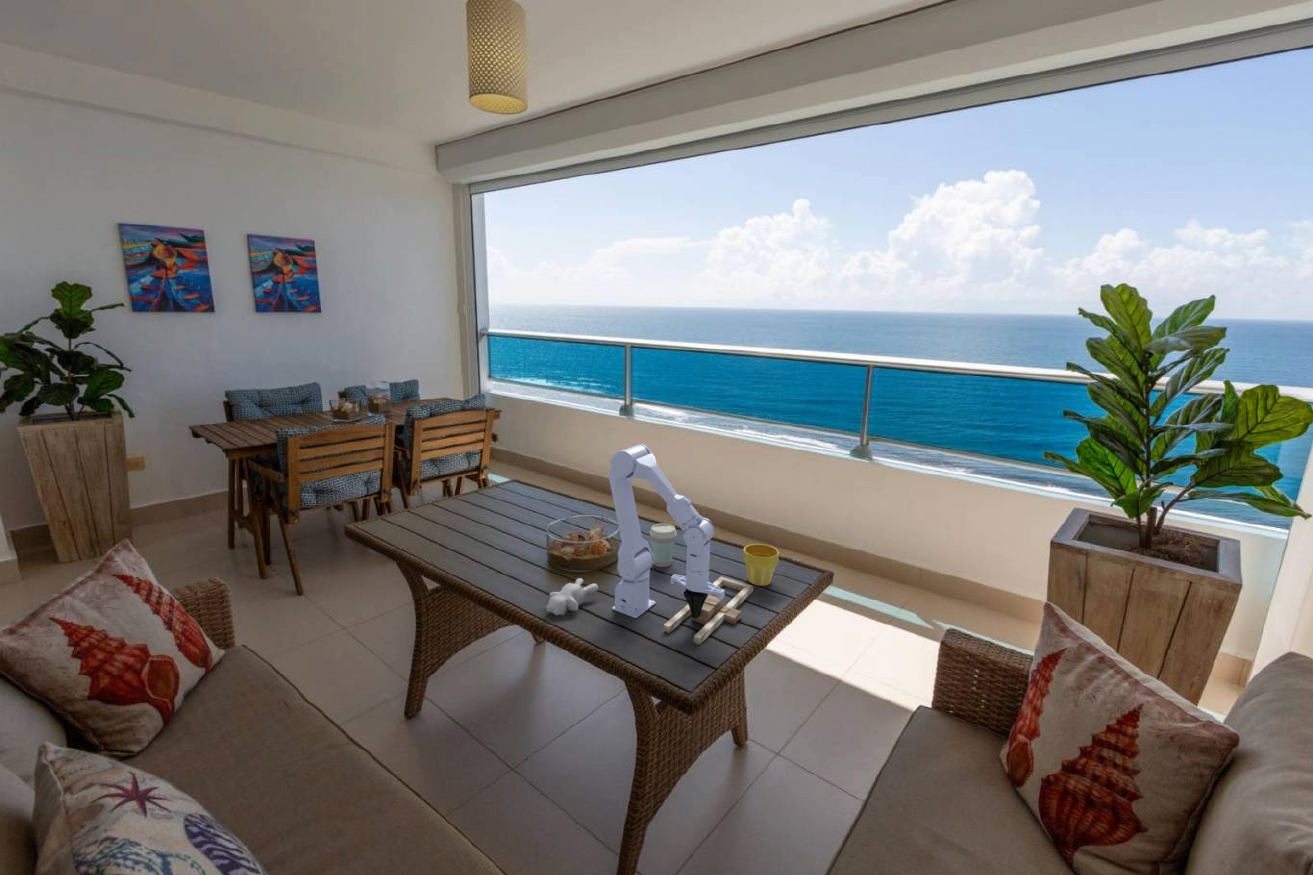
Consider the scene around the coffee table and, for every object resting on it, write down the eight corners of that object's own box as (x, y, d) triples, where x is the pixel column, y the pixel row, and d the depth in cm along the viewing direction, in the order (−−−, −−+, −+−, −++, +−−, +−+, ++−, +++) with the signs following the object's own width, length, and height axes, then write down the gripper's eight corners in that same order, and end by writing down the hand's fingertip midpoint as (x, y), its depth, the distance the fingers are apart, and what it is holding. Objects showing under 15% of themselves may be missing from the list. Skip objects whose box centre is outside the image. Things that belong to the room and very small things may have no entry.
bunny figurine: (537, 597, 146) (575, 570, 158) (539, 614, 148) (577, 586, 159) (564, 608, 141) (601, 579, 153) (566, 625, 142) (602, 595, 154)
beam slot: (710, 649, 132) (711, 641, 131) (663, 631, 139) (664, 623, 138) (762, 594, 158) (762, 587, 157) (720, 581, 165) (721, 575, 164)
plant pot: (752, 569, 173) (754, 540, 171) (783, 579, 166) (785, 549, 164) (735, 581, 165) (737, 550, 163) (766, 592, 159) (768, 561, 156)
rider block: (708, 625, 141) (709, 610, 140) (691, 619, 144) (691, 605, 143) (722, 612, 148) (722, 597, 147) (705, 606, 151) (706, 592, 150)
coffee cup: (678, 559, 179) (679, 524, 176) (672, 571, 171) (673, 534, 168) (653, 555, 181) (653, 521, 178) (645, 567, 173) (646, 531, 170)
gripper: (731, 568, 138) (728, 618, 141) (681, 554, 145) (679, 601, 148) (718, 579, 132) (715, 631, 135) (666, 564, 140) (665, 612, 143)
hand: (695, 616), depth 141 cm, fingers closed
